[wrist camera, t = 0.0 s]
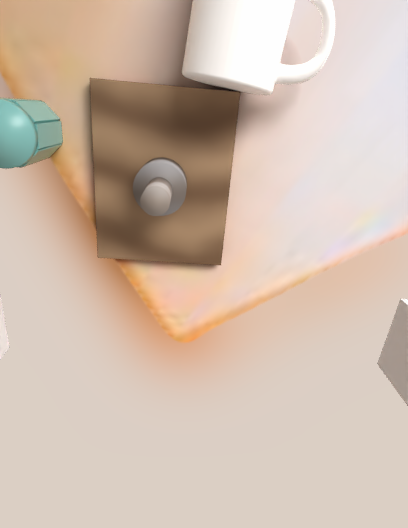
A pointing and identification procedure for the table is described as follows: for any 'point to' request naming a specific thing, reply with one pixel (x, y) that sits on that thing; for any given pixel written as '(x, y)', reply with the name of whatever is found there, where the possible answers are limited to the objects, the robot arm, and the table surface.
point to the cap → (27, 132)
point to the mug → (249, 44)
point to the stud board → (162, 136)
